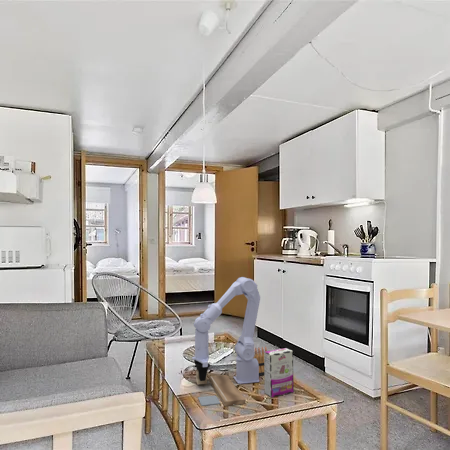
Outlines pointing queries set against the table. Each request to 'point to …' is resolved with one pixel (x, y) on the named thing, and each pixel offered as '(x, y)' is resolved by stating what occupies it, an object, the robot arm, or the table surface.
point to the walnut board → (226, 390)
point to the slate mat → (208, 400)
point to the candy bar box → (278, 372)
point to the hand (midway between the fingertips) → (201, 379)
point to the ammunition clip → (260, 359)
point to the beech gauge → (199, 379)
